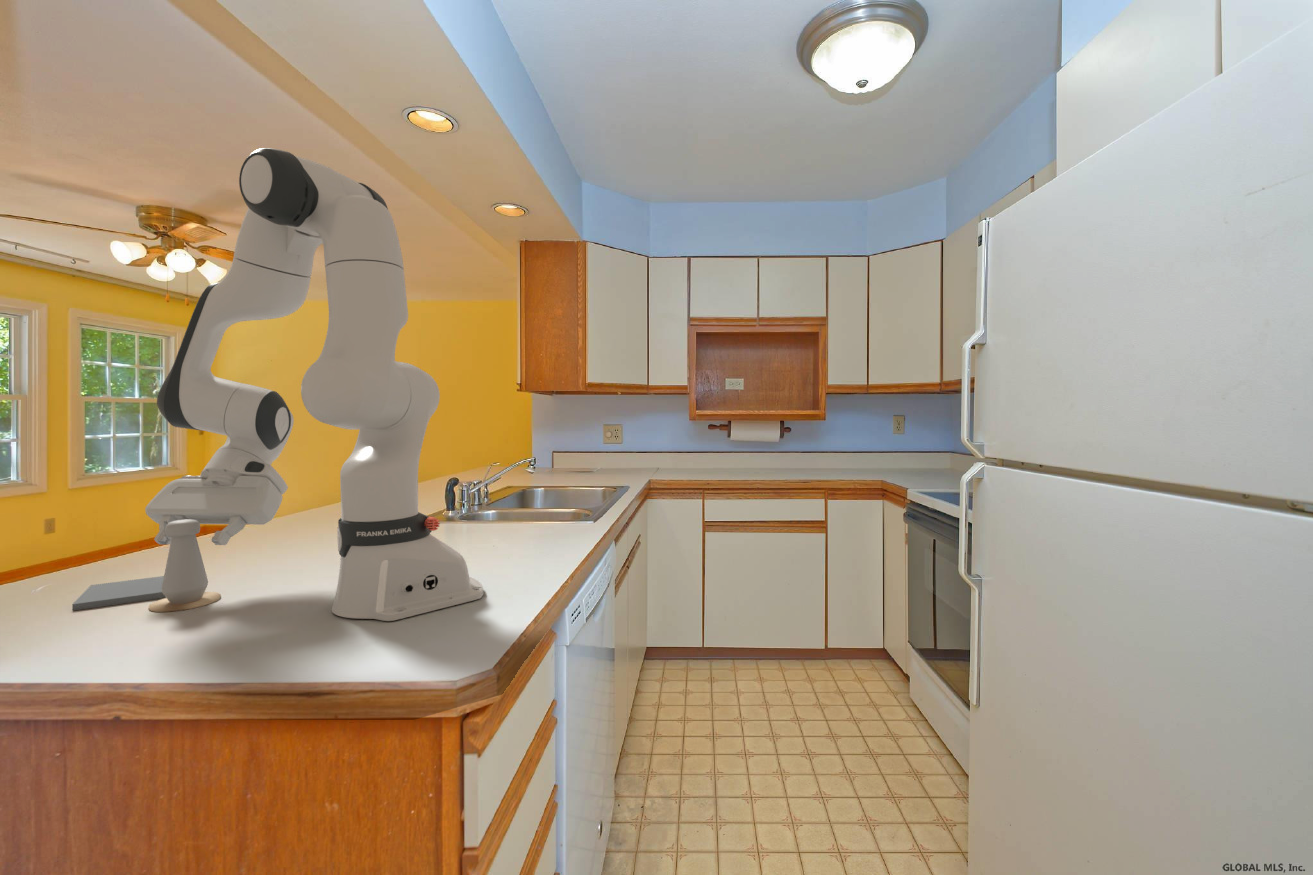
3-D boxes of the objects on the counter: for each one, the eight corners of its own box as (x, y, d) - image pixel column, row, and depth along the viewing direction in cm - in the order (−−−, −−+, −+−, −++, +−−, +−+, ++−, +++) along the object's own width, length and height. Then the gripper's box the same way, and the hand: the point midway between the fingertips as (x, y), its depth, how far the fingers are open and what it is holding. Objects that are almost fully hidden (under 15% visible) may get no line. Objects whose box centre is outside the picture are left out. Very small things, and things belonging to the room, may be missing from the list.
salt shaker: (214, 598, 93) (211, 519, 93) (170, 608, 89) (167, 525, 88) (199, 592, 97) (196, 515, 96) (156, 602, 92) (153, 521, 91)
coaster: (222, 590, 99) (222, 588, 99) (219, 604, 91) (219, 602, 91) (153, 600, 94) (153, 598, 94) (144, 616, 86) (144, 614, 86)
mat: (181, 579, 105) (181, 573, 105) (173, 596, 96) (173, 590, 96) (91, 590, 99) (91, 585, 99) (72, 610, 89) (72, 604, 89)
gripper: (165, 464, 101) (113, 531, 91) (279, 465, 100) (239, 532, 91) (187, 486, 105) (140, 552, 96) (297, 487, 105) (260, 553, 96)
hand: (189, 543), depth 93 cm, fingers open, 8 cm apart
